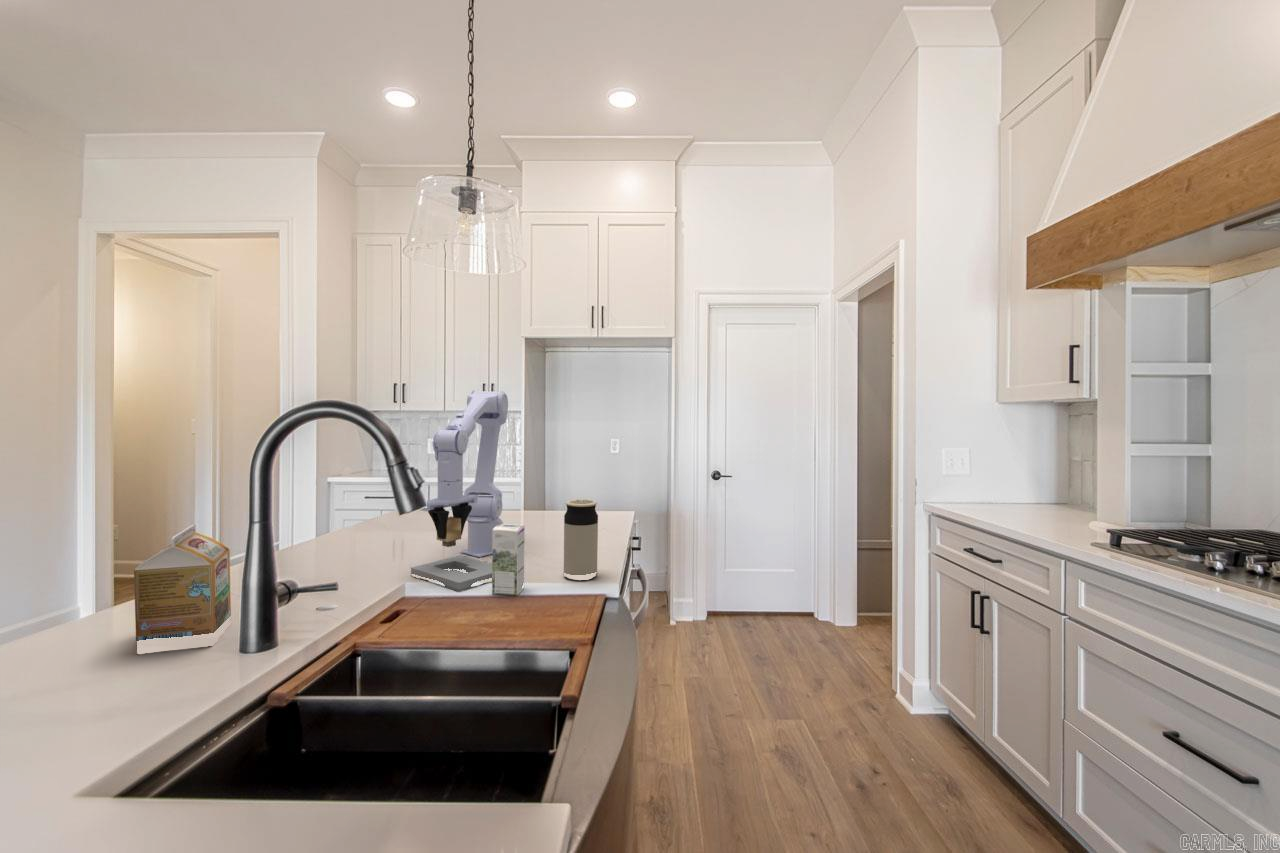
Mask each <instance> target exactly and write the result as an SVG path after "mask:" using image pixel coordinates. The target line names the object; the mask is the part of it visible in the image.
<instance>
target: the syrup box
mask: <svg viewBox="0 0 1280 853" xmlns="http://www.w3.org/2000/svg"><path fill="white" fill-rule="evenodd" d="M525 530H526V529H525V524H511V523H510V524H509V523H503V524H499V525H497V526H496V527H495V528H493V529H492V554H491V559H492V560H491V561H492V562H491V564H492V582H491V583H492V584H491V590H492V591H491V592H492V593H491V594H492V595H499V596H500V595H501V596H518V595H519V594H520V593H521V592H522V591H523V590H522V586H523V583H524V584H525V541H526V540H525V538H526V536H525V534H526V533H525Z"/></svg>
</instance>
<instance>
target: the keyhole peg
mask: <svg viewBox="0 0 1280 853" xmlns="http://www.w3.org/2000/svg"><path fill="white" fill-rule="evenodd" d="M436 540H437V541H439V542H441V543H442V544H441V546H443V547H446V548H450V547H454V546H457V544H456V543H457V541H459V540H462V535H461V518H456V517H453V516H448V520H447V532H446V539H440V538H438V535H437V534H436Z"/></svg>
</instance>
